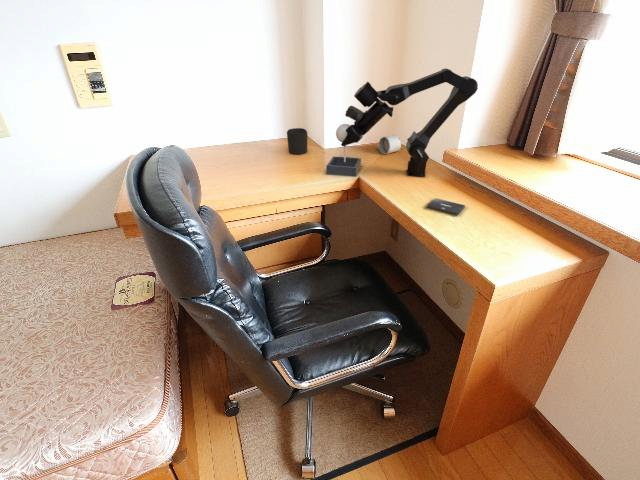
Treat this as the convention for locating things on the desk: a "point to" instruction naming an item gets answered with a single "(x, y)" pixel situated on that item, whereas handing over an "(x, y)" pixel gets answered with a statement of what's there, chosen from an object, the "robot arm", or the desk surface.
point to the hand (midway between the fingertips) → (344, 143)
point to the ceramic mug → (389, 144)
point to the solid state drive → (446, 206)
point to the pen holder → (297, 141)
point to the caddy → (344, 166)
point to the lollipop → (342, 135)
